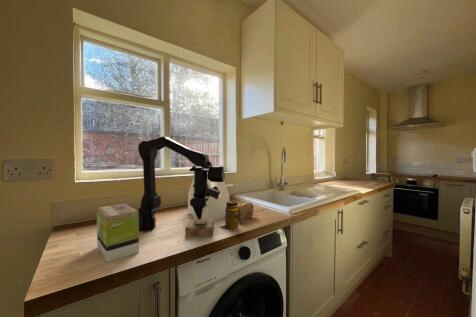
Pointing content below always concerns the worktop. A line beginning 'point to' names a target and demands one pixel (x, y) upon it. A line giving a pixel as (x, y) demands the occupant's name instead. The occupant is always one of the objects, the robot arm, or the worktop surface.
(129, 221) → the tea box
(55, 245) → the worktop surface
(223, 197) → the white plastic jug
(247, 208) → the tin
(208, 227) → the riser
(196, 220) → the canister
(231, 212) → the condiment
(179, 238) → the worktop surface
